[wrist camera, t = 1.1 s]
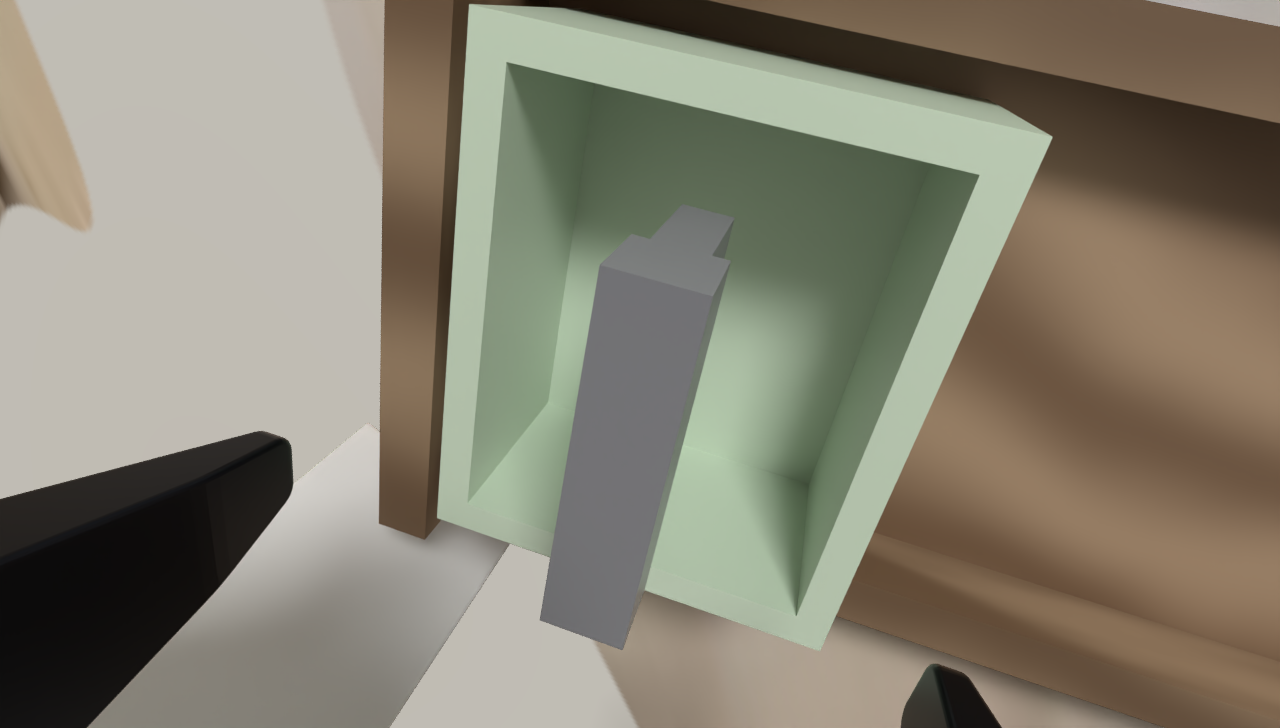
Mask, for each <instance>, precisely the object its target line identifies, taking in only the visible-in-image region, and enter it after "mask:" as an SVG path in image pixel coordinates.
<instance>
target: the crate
mask: <svg viewBox="0 0 1280 728" xmlns="http://www.w3.org/2000/svg"><path fill="white" fill-rule="evenodd" d="M1052 138H1053V137H1052V136H1050V135H1049V134H1047V133H1045V132H1044V131H1042V130H1040V129H1038V128H1037V127H1035V126H1033V125H1032V124H1030V123H1028V122H1026V121H1025V120H1023V119H1021V118H1020V117H1018V116H1016V115H1014V114H1013V113H1011V112H1009V111H1008V110H1006V109H1004V108H1002V107H1001V106H999V105H997V104H996V103H994V102H992V101H990V100H989V99H984V98H980V97H975V96H971V95H966V94H962V93H957V92H953V91H948V90H944V89H939V88H935V87H930V86H926V85H921V84H917V83H912V82H908V81H903V80H899V79H894V78H890V77H885V76H881V75H876V74H872V73H867V72H863V71H859V70H854V69H850V68H845V67H841V66H836V65H832V64H827V63H823V62H818V61H814V60H809V59H805V58H800V57H796V56H791V55H787V54H782V53H778V52H773V51H769V50H764V49H760V48H755V47H751V46H746V45H742V44H737V43H733V42H728V41H724V40H719V39H715V38H711V37H706V36H702V35H697V34H693V33H688V32H684V31H679V30H675V29H670V28H666V27H661V26H657V25H652V24H648V23H643V22H639V21H634V20H630V19H625V18H621V17H616V16H612V15H607V14H603V13H598V12H594V11H589V10H585V9H575V8H551V7H528V6H504V5H481V4H469V14H468V30H467V46H466V62H465V78H464V94H463V110H462V126H461V142H460V158H459V174H458V190H457V206H456V222H455V238H454V253H453V269H452V285H451V301H450V317H449V333H448V349H447V365H446V381H445V397H444V413H443V429H442V445H441V461H440V477H439V493H438V509H437V518H438V519H441V520H444V521H447V522H450V523H453V524H455V525H458V526H461V527H464V528H467V529H470V530H473V531H476V532H478V533H481V534H484V535H487V536H490V537H493V538H496V539H499V540H501V541H504V542H507V543H510V544H513V545H516V546H519V547H522V548H525V549H527V550H530V551H533V552H536V553H539V554H542V555H545V556H547V557H550V563H549V569H548V575H547V580H546V587H545V592H544V599H543V604H542V610H541V616H540V620H541V621H544V622H546V623H549V624H552V625H554V626H558V627H560V628H563V629H565V630H569V631H571V632H574V633H576V634H579V635H582V636H585V637H588V638H590V639H593V640H596V641H599V642H601V643H604V644H607V645H610V646H612V647H615V648H618V649H621V650H623V647H624V645H625V642H626V639H627V636H628V634H629V631H630V628H631V625H632V623H633V620H634V617H635V615H636V612H637V609H638V606H639V604H640V601H641V598H642V595H643V593H644V590H645V591H648V592H651V593H654V594H657V595H660V596H662V597H665V598H668V599H671V600H674V601H677V602H680V603H683V604H686V605H688V606H691V607H694V608H697V609H700V610H703V611H706V612H709V613H711V614H714V615H717V616H720V617H723V618H726V619H729V620H732V621H734V622H737V623H740V624H743V625H746V626H749V627H752V628H755V629H757V630H760V631H763V632H766V633H769V634H772V635H775V636H778V637H780V638H783V639H786V640H789V641H792V642H795V643H798V644H801V645H803V646H806V647H809V648H812V649H815V650H818V651H820V650H821V648H822V645H823V643H824V641H825V639H826V636H827V634H828V632H829V630H830V628H831V625H832V623H833V621H834V619H835V617H836V614H837V612H838V610H839V608H840V606H841V603H842V601H843V599H844V597H845V595H846V592H847V590H848V588H849V586H850V584H851V581H852V579H853V577H854V575H855V572H856V570H857V568H858V566H859V564H860V561H861V559H862V557H863V555H864V553H865V550H866V548H867V546H868V544H869V542H870V539H871V537H872V535H873V533H874V531H875V528H876V526H877V524H878V522H879V520H880V517H881V515H882V513H883V511H884V508H885V506H886V504H887V502H888V500H889V497H890V495H891V493H892V491H893V489H894V486H895V484H896V482H897V480H898V478H899V475H900V473H901V471H902V469H903V467H904V464H905V462H906V460H907V458H908V456H909V453H910V451H911V449H912V447H913V444H914V442H915V440H916V438H917V436H918V433H919V431H920V429H921V427H922V425H923V422H924V420H925V418H926V416H927V414H928V411H929V409H930V407H931V405H932V403H933V400H934V398H935V396H936V394H937V392H938V389H939V387H940V385H941V383H942V380H943V378H944V376H945V374H946V372H947V369H948V367H949V365H950V363H951V361H952V358H953V356H954V354H955V352H956V350H957V347H958V345H959V343H960V341H961V339H962V336H963V334H964V332H965V330H966V328H967V325H968V323H969V321H970V319H971V316H972V314H973V312H974V310H975V308H976V305H977V303H978V301H979V299H980V297H981V294H982V292H983V290H984V288H985V286H986V283H987V281H988V279H989V277H990V275H991V272H992V270H993V268H994V266H995V264H996V261H997V259H998V257H999V255H1000V252H1001V250H1002V248H1003V246H1004V244H1005V241H1006V239H1007V237H1008V235H1009V233H1010V230H1011V228H1012V226H1013V224H1014V222H1015V219H1016V217H1017V215H1018V213H1019V211H1020V208H1021V206H1022V204H1023V202H1024V200H1025V197H1026V195H1027V193H1028V191H1029V188H1030V186H1031V184H1032V182H1033V180H1034V177H1035V175H1036V173H1037V171H1038V169H1039V166H1040V164H1041V162H1042V160H1043V158H1044V155H1045V153H1046V151H1047V149H1048V147H1049V144H1050V142H1051V140H1052Z"/></svg>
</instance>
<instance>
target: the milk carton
mask: <svg viewBox="0 0 1280 728" xmlns="http://www.w3.org/2000/svg"><path fill="white" fill-rule="evenodd" d="M379 458H380V431H378V430H377V429H376V428H375V427H374V426H373V425H371V424H370V423H367V424H365V425H364V426H363V427H361V428H360V429H359V430H358V431H356V432H355V433H354V434H353V435H352V436H350V437H349V438H348V439H347V440H346V441H345V442H343V443H342V444H341V445H340V446H339V447H337V448H336V449H335V450H334V451H332V452H331V453H330V454H329V455H328V456H327V457H325V458H324V459H323V460H322V461H320V462H319V463H318V464H317V465H316V466H314V467H313V468H312V469H311V470H309V471H308V472H307V473H306V474H305V475H303V476H302V477H301V478H300V479H299V480H297V481H296V482H295V483H294V484H293V489H292V492H291V495H290V497H289V499H288V500H287V502H286V503H285V505H284V506H283V507H282V508H281V510H280V511H279V512H278V514H277V515H276V516H275V517H274V519H273V520H272V521H271V523H270V524H269V525H268V526H267V528H266V529H265V530H264V532H263V533H262V534H261V535H260V537H259V538H258V539H257V541H256V542H255V543H254V544H253V546H252V547H251V548H250V550H249V551H248V552H247V553H246V555H245V556H244V557H243V559H242V560H241V561H240V562H239V564H238V565H237V566H236V568H235V569H234V570H233V571H232V573H231V574H230V575H229V576H228V578H227V579H226V580H225V581H224V582H223V584H222V585H221V586H220V587H219V588H218V589H217V591H216V592H215V593H214V594H213V595H212V596H211V597H210V598H209V599H208V600H207V602H206V603H205V604H204V605H203V606H202V607H201V608H200V609H199V610H198V611H197V612H196V613H195V614H194V615H193V616H192V617H191V618H190V620H189V621H188V622H187V623H186V624H185V625H184V626H183V627H182V628H181V629H180V630H179V631H178V632H177V633H176V634H175V635H174V636H173V638H172V639H171V640H170V641H169V642H168V643H167V644H166V645H165V646H164V647H163V648H162V649H161V650H160V651H159V652H158V653H157V654H156V655H155V657H154V658H153V659H152V660H151V661H150V662H149V663H148V664H147V665H146V666H145V667H144V668H143V669H142V670H141V671H140V672H139V673H138V674H137V676H136V677H135V678H134V679H133V680H132V681H131V682H130V683H129V684H128V685H127V686H126V687H125V688H124V689H123V690H122V691H121V692H120V693H119V695H118V696H117V697H116V698H115V699H114V700H113V701H112V702H111V703H110V704H109V705H108V706H107V707H106V708H105V709H104V710H103V711H102V712H101V714H100V715H99V716H98V717H97V718H96V719H95V720H94V721H93V722H92V723H91V724H90V725H89V726H88V727H87V728H389V727H390V726H391V724H392V723H393V721H394V720H395V718H396V716H397V715H398V714H399V712H400V711H401V709H402V707H403V706H404V704H405V703H406V701H407V700H408V698H409V697H410V695H411V694H412V692H413V690H414V689H415V688H416V686H417V685H418V683H419V682H420V680H421V678H422V677H423V675H424V674H425V672H426V671H427V669H428V668H429V666H430V665H431V663H432V662H433V660H434V658H435V657H436V656H437V654H438V652H439V651H440V650H441V648H442V647H443V645H444V643H445V642H446V640H447V639H448V637H449V636H450V634H451V633H452V631H453V630H454V628H455V627H456V625H457V624H458V622H459V620H460V619H461V617H462V616H463V614H464V613H465V611H466V610H467V608H468V607H469V605H470V604H471V602H472V601H473V599H474V598H475V596H476V594H477V593H478V592H479V590H480V588H481V587H482V585H483V584H484V582H485V581H486V579H487V578H488V576H489V575H490V573H491V572H492V570H493V569H494V567H495V566H496V564H497V562H498V561H499V560H500V558H501V556H502V555H503V553H504V552H505V550H506V549H507V547H508V546H509V544H510V543H507V542H504V541H501V540H499V539H496V538H493V537H490V536H487V535H484V534H481V533H478V532H476V531H473V530H470V529H467V528H464V527H461V526H458V525H455V524H453V523H450V522H447V521H444V520H441V521H440V522H439V523H438V525H437V526H436V527H435V528H434V529H433V531H432V532H431V533H430V534H429V535H428V537H427V538H426V539H425V540H424V539H421V538H418V537H415V536H412V535H409V534H407V533H404V532H401V531H398V530H395V529H392V528H390V527H387V526H384V525H381V524H379Z"/></svg>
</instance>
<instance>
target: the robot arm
mask: <svg viewBox="0 0 1280 728" xmlns="http://www.w3.org/2000/svg"><path fill="white" fill-rule="evenodd" d="M292 489H293V469H292V449H291V445H290V443H289V441H288V440H286V439H285V438H283V437H280V436H277V435H274V434H271V433H268V432H264V431H258V432H253V433H249V434H245V435H242V436H238V437H234V438H231V439H226V440H223V441H219V442H215V443H211V444H208V445H204V446H200V447H196V448H192V449H188V450H185V451H181V452H177V453H174V454H169V455H166V456H162V457H158V458H154V459H151V460H147V461H143V462H139V463H136V464H132V465H128V466H124V467H120V468H117V469H113V470H109V471H105V472H101V473H97V474H94V475H90V476H86V477H82V478H78V479H75V480H71V481H67V482H64V483H60V484H56V485H52V486H48V487H44V488H41V489H37V490H33V491H29V492H26V493H22V494H18V495H14V496H10V497H6V498H3V499H0V728H87V727H88V726H89V725H90V724H91V723H92V722H93V721H94V720H95V719H96V718H97V717H98V716H99V715H100V714H101V712H102V711H103V710H104V709H105V708H106V707H107V706H108V705H109V704H110V703H111V702H112V701H113V700H114V699H115V698H116V697H117V696H118V695H119V693H120V692H121V691H122V690H123V689H124V688H125V687H126V686H127V685H128V684H129V683H130V682H131V681H132V680H133V679H134V678H135V677H136V676H137V674H138V673H139V672H140V671H141V670H142V669H143V668H144V667H145V666H146V665H147V664H148V663H149V662H150V661H151V660H152V659H153V658H154V657H155V655H156V654H157V653H158V652H159V651H160V650H161V649H162V648H163V647H164V646H165V645H166V644H167V643H168V642H169V641H170V640H171V639H172V638H173V636H174V635H175V634H176V633H177V632H178V631H179V630H180V629H181V628H182V627H183V626H184V625H185V624H186V623H187V622H188V621H189V620H190V618H191V617H192V616H193V615H194V614H195V613H196V612H197V611H198V610H199V609H200V608H201V607H202V606H203V605H204V604H205V603H206V602H207V600H208V599H209V598H210V597H211V596H212V595H213V594H214V593H215V592H216V591H217V589H218V588H219V587H220V586H221V585H222V584H223V582H224V581H225V580H226V579H227V578H228V576H229V575H230V574H231V573H232V571H233V570H234V569H235V568H236V566H237V565H238V564H239V562H240V561H241V560H242V559H243V557H244V556H245V555H246V553H247V552H248V551H249V550H250V548H251V547H252V546H253V544H254V543H255V542H256V541H257V539H258V538H259V537H260V535H261V534H262V533H263V532H264V530H265V529H266V528H267V526H268V525H269V524H270V523H271V521H272V520H273V519H274V517H275V516H276V515H277V514H278V512H279V511H280V510H281V508H282V507H283V506H284V505H285V503H286V502H287V500H288V499H289V497H290V495H291V492H292ZM901 728H1002V727H1001V726H1000V724H999V723H998V721H997V720H996V718H995V716H994V715H993V713H992V712H991V710H990V709H989V707H988V706H987V704H986V703H985V701H984V700H983V698H982V697H981V695H980V694H979V692H978V691H977V689H976V688H975V686H974V684H973V683H972V681H971V680H970V679H969V678H968V677H967V676H966V675H965V674H964V673H962V672H959V671H957V670H954V669H951V668H948V667H945V666H942V665H939V664H931V665H930V666H928V667H927V669H926V670H925V672H924V673H923V675H922V677H921V679H920V680H919V682H918V684H917V686H916V687H915V689H914V691H913V692H912V694H911V696H910V698H909V699H908V701H907V703H906V705H905V708H904V711H903V715H902V721H901Z"/></svg>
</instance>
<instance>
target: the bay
mask: <svg viewBox="0 0 1280 728" xmlns="http://www.w3.org/2000/svg"><path fill="white" fill-rule="evenodd" d="M469 4H481V5H504V6H528V7H551V8H575V9H585V10H589V11H594V12H598V13H603V14H607V15H612V16H616V17H621V18H625V19H630V20H634V21H639V22H643V23H648V24H652V25H657V26H661V27H666V28H670V29H675V30H679V31H684V32H688V33H693V34H697V35H702V36H706V37H711V38H715V39H719V40H724V41H728V42H733V43H737V44H742V45H746V46H751V47H755V48H760V49H764V50H769V51H773V52H778V53H782V54H787V55H791V56H796V57H800V58H805V59H809V60H814V61H818V62H823V63H827V64H832V65H836V66H841V67H845V68H850V69H854V70H859V71H863V72H867V73H872V74H876V75H881V76H885V77H890V78H894V79H899V80H903V81H908V82H912V83H917V84H921V85H926V86H930V87H935V88H939V89H944V90H948V91H953V92H957V93H962V94H966V95H971V96H975V97H980V98H984V99H989V100H990V101H992V102H994V103H996V104H997V105H999V106H1001V107H1002V108H1004V109H1006V110H1008V111H1009V112H1011V113H1013V114H1014V115H1016V116H1018V117H1020V118H1021V119H1023V120H1025V121H1026V122H1028V123H1030V124H1032V125H1033V126H1035V127H1037V128H1038V129H1040V130H1042V131H1044V132H1045V133H1047V134H1049V135H1050V136H1052V137H1053V138H1052V140H1051V142H1050V144H1049V147H1048V149H1047V151H1046V153H1045V155H1044V158H1043V160H1042V162H1041V164H1040V166H1039V169H1038V171H1037V173H1036V175H1035V177H1034V180H1033V182H1032V184H1031V186H1030V188H1029V191H1028V193H1027V195H1026V197H1025V200H1024V202H1023V204H1022V206H1021V208H1020V211H1019V213H1018V215H1017V217H1016V219H1015V222H1014V224H1013V226H1012V228H1011V230H1010V233H1009V235H1008V237H1007V239H1006V241H1005V244H1004V246H1003V248H1002V250H1001V252H1000V255H999V257H998V259H997V261H996V264H995V266H994V268H993V270H992V272H991V275H990V277H989V279H988V281H987V283H986V286H985V288H984V290H983V292H982V294H981V297H980V299H979V301H978V303H977V305H976V308H975V310H974V312H973V314H972V316H971V319H970V321H969V323H968V325H967V328H966V330H965V332H964V334H963V336H962V339H961V341H960V343H959V345H958V347H957V350H956V352H955V354H954V356H953V358H952V361H951V363H950V365H949V367H948V369H947V372H946V374H945V376H944V378H943V380H942V383H941V385H940V387H939V389H938V392H937V394H936V396H935V398H934V400H933V403H932V405H931V407H930V409H929V411H928V414H927V416H926V418H925V420H924V422H923V425H922V427H921V429H920V431H919V433H918V436H917V438H916V440H915V442H914V444H913V447H912V449H911V451H910V453H909V456H908V458H907V460H906V462H905V464H904V467H903V469H902V471H901V473H900V475H899V478H898V480H897V482H896V484H895V486H894V489H893V491H892V493H891V495H890V497H889V500H888V502H887V504H886V506H885V508H884V511H883V513H882V515H881V517H880V520H879V522H878V524H877V526H876V528H875V531H874V533H873V535H872V537H871V539H870V542H869V544H868V546H867V548H866V550H865V553H864V555H863V557H862V559H861V561H860V564H859V566H858V568H857V570H856V572H855V575H854V577H853V579H852V581H851V584H850V586H849V588H848V590H847V592H846V595H845V597H844V599H843V601H842V603H841V606H840V608H839V610H838V612H837V614H836V616H838V617H840V618H843V619H846V620H849V621H852V622H855V623H858V624H861V625H864V626H867V627H870V628H873V629H876V630H879V631H882V632H885V633H888V634H891V635H894V636H896V637H899V638H902V639H905V640H908V641H911V642H914V643H917V644H920V645H923V646H926V647H929V648H932V649H935V650H938V651H941V652H944V653H947V654H950V655H953V656H955V657H958V658H961V659H964V660H967V661H970V662H973V663H976V664H979V665H982V666H985V667H988V668H991V669H994V670H997V671H1000V672H1003V673H1006V674H1009V675H1011V676H1014V677H1017V678H1020V679H1023V680H1026V681H1029V682H1032V683H1035V684H1038V685H1041V686H1044V687H1047V688H1050V689H1053V690H1056V691H1059V692H1062V693H1065V694H1068V695H1070V696H1073V697H1076V698H1079V699H1082V700H1085V701H1088V702H1091V703H1094V704H1097V705H1100V706H1103V707H1106V708H1109V709H1112V710H1115V711H1118V712H1121V713H1124V714H1126V715H1129V716H1132V717H1135V718H1138V719H1141V720H1144V721H1147V722H1150V723H1153V724H1156V725H1159V726H1162V727H1165V728H1280V27H1278V26H1273V25H1268V24H1263V23H1258V22H1253V21H1247V20H1242V19H1237V18H1232V17H1227V16H1222V15H1217V14H1212V13H1207V12H1202V11H1197V10H1191V9H1186V8H1181V7H1176V6H1171V5H1166V4H1161V3H1156V2H1151V1H1146V0H385V22H384V109H383V196H382V200H383V203H382V206H383V207H382V283H381V288H382V289H381V370H380V371H381V373H380V374H381V375H380V378H381V379H380V458H379V524H381V525H384V526H387V527H390V528H392V529H395V530H398V531H401V532H404V533H407V534H409V535H412V536H415V537H418V538H421V539H424V540H425V539H426V538H427V537H428V535H429V534H430V533H431V532H432V531H433V529H434V528H435V527H436V526H437V525H438V523H439V522H440V521H441V519H438V518H437V509H438V493H439V477H440V461H441V445H442V429H443V413H444V397H445V381H446V365H447V349H448V333H449V317H450V301H451V285H452V269H453V253H454V238H455V222H456V206H457V190H458V174H459V158H460V142H461V126H462V110H463V94H464V78H465V62H466V46H467V30H468V14H469Z"/></svg>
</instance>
